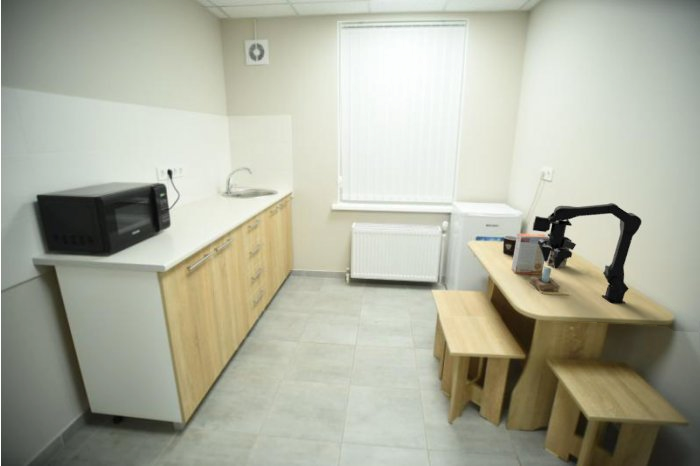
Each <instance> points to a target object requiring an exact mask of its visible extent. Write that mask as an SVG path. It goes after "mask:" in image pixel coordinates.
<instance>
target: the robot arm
mask: <svg viewBox="0 0 700 466" xmlns="http://www.w3.org/2000/svg"><path fill="white" fill-rule="evenodd" d="M607 214H612V215H613V216H614V217H616V218H617V219H618V220H619V237H618V240H617V244H616V248H615V250H614V255H613V258H612V261H611V263H610V264H609V265H607V264H606V265H605V267H604V270H603V272H602V274H603V276H604V279H605V280H606V282H607V283H608V285H607V288H606V291H605V295H604V294H603V295H601V297H602V298H603V299H605V300H607V301H608V302H609V303H611V304H627V302H626V301H625V300H624V297H625V295H626V293H627V292H628V291H629V289H630V288H629V287H628V285H627V284H626V283H625V268H624V267H625V265H626V260H627V257H628V253H629V251H630V247H631V243H632V240H633V237H634V235H635V234H636V233H637V232H638V230H639V229H640V227H641V225H642V219H641V217H639V216H638V215H636V214H635V213H632V212H627V211H626V210H623V209H622V208H621V207H619V205H617V204H616V203H613V202H610V203H606V204H604V203H603V204H595V205H584V206H571V205H558V206H556V207H555V208H554V210H553V212H552V213H551V214H550V215H548V216H547V217H543V216H538V215H537V216H535V217H534V221H533V225H532V231H536V232H543V233H547V232H549V233H547V237H549V239H540V240H539V241H538V244H539V247H540V249H541V251H542V254H543V258H544V262H545V261H547V260H548V258H549V255H550V251H551V250H552V249H553V250H554V255H553V260H554V266H553V267H554V269H556V270H557V269H558V268H559V266H560V264H561V263H562V261H563V260H564V259H566V258H567V259H569V258H572V256H573V252H572V251H573V250H574V249H575V247H576V246H577V244H576V243H575V242H573V241H569V239H570V238H569V237H567V236H565V233H566V229H567V226H568V227H570V226H573V225H572V223H571V221H570V220H571V219H575V218H578V217H585V216H595V215H596V216H598V215H607ZM565 247H567V248H569V249H570V250H568V249H560V248H565Z"/></svg>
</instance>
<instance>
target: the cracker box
mask: <svg viewBox="0 0 700 466" xmlns="http://www.w3.org/2000/svg"><path fill="white" fill-rule="evenodd" d="M516 237H517V238H516V244H515V250H514V255H513V256H512V257H513V259H512V264H511V271H512V272H514V274H525V275H526V274H527V275H529V274H530V275H543V271H544V266H545V265H544V264H545V261H544V258H543V254H542V251H541V249H540V247H539V244H538V241H539V240H540V239H549V236H548V235H546V234H542V233H541V234H540V233H517V234H516Z"/></svg>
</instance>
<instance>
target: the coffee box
mask: <svg viewBox="0 0 700 466" xmlns="http://www.w3.org/2000/svg"><path fill="white" fill-rule="evenodd" d="M569 241H571V242H573V240H572V239H570V238H569ZM560 249H568V250H569V251H571V249H569V248H567V247H565V248H560ZM553 255H554V250H553V249H552V250H551V251H550V255H549V258H548V260H547V261H544V263H545V264H546V265H547V266H550V267H554V260H553ZM567 263H568V258H566V259H564V260H563V261H562V263H561V264H560V266H559V267H560V268H566V267H567ZM559 267H558V268H559Z"/></svg>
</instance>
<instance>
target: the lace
mask: <svg viewBox="0 0 700 466" xmlns="http://www.w3.org/2000/svg"><path fill="white" fill-rule="evenodd" d="M538 292H539V293H540V294H541V295H561V296H562V295H564V296H569V295H570V293H569V292H559V291H558V292H542V291H541V290H539V291H538Z"/></svg>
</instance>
